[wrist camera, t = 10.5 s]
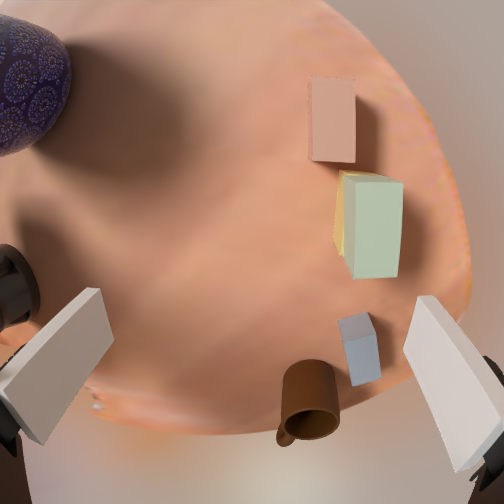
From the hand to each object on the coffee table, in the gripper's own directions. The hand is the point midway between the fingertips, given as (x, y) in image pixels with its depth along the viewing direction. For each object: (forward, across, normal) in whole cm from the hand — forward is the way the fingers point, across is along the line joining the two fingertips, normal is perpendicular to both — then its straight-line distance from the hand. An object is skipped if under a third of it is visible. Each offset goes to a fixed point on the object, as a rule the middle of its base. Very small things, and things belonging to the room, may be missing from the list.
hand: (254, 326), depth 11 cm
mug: (+23, +5, -27) cm, 35 cm away
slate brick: (+22, +12, -18) cm, 31 cm away
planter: (+24, -32, +18) cm, 44 cm away
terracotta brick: (+23, +6, +9) cm, 25 cm away
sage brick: (+18, +9, 0) cm, 20 cm away
